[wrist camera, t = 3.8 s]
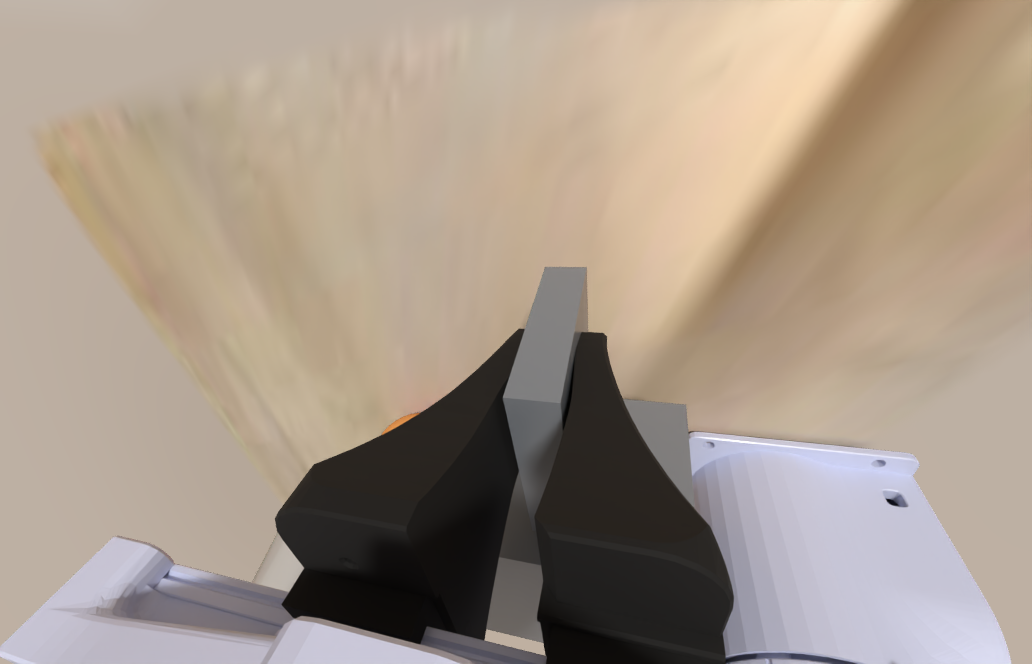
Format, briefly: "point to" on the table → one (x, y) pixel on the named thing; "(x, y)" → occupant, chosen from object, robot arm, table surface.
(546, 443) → the grey block with fin
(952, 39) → the table surface
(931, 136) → the table surface
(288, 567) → the salt shaker
